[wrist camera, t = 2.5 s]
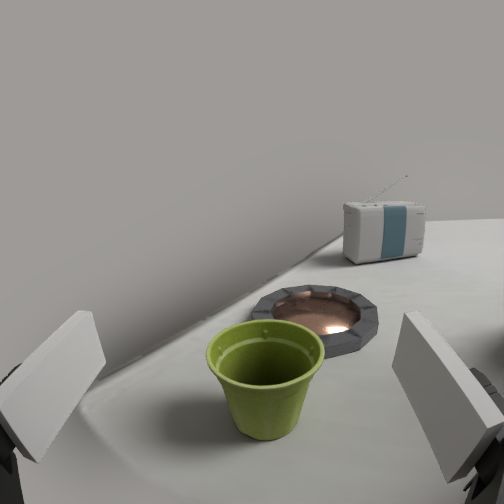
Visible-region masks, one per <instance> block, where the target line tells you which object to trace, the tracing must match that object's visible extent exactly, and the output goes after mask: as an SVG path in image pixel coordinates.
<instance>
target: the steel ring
mask: <svg viewBox="0 0 504 504" xmlns="http://www.w3.org/2000/svg"><path fill="white" fill-rule="evenodd" d="M264 319H273V320H283V321H289V322H293V323H296V324H299V325H302V326H304V327H306V328H308V329H310V330H311V331H313V332H314V333H315V334H316V335H317V336H318V337H319V338H320V340H321V341H322V343H323V345H324V350H325V354H324V358H325V359H327V358H330V357H335V356H339V355H343V354H347V353H350V352H354V351H358V350H360V349H361V348H362V347H364V346H365V345H366V344H367V343H368V342H369V341H370V340H371V339H372V338H373V337H374V336H375V335H376V334H377V330H378V324H379V322H378V314H377V307H376V306H375V305H374V304H372V303H371V302H370V301H369V300H367V299H366V298H365V297H364V296H362V295H361V294H358V293H355V292H352V291H349V290H345V289H342V288H339V287H333V286H319V285H304V286H297V287H289V288H282V289H280V290H278V291H275V292H273V293H271V294H269V295H266V296H264V297H262V298H261V299H260V300H259V302H258V303H257V305H256V307H255V308H254V310H253V311H252V321H253V320H264Z"/></svg>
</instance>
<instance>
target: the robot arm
mask: <svg viewBox="0 0 504 504" xmlns="http://www.w3.org/2000/svg"><path fill="white" fill-rule="evenodd" d="M105 363H106V360H105V357H104V354H103V351H102V348H101V344H100V341H99V337H98V334H97V330H96V327H95V323H94V319H93V315H92V312H91V311H80V310H78V311H77V312H76V313H75V314H74V315H72V316H71V317H70V318H69V319H68V320H67V321H66V322H65V323H64V324H63V325H62V326H60V327H59V328H58V329H57V330H56V331H55V332H54V333H53V334H52V335H51V336H50V337H49V338H48V339H47V340H46V341H45V342H43V343H42V344H41V345H40V346H39V347H38V348H37V349H36V350H35V351H34V352H33V353H32V354H31V355H30V356H29V357H28V358H27V359H26V360H25V361H24V362H23V363H21V364H19V365H18V366H16V367H15V368H14V369H13V370H12V371H11V372H10V373H9V374H8V376H6V377H5V378H4V379H3V380H2V382H0V504H24V500H23V495H22V490H21V485H20V479H19V473H18V466H17V458H16V455H15V453H14V452H13V450H14V448H15V447H17V449H18V450H19V451H20V453H21V454H22V455H23V456H24V457H25V458H27V459H29V460H32V461H33V462H35V463H37V464H38V463H39V462H40V460H41V459H42V457H43V455H44V453H45V452H46V451H47V449H48V447H49V446H50V444H51V443H52V441H53V439H54V438H55V437H56V435H57V433H58V432H59V430H60V429H61V427H62V426H63V424H64V423H65V421H66V419H67V418H68V417H69V415H70V414H71V412H72V411H73V409H74V408H75V406H76V405H77V403H78V402H79V401H80V399H81V398H82V396H83V395H84V393H85V392H86V390H87V389H88V388H89V386H90V385H91V383H92V382H93V380H94V379H95V378H96V376H97V375H98V373H99V372H100V370H101V369H102V368H103V366H104V365H105ZM392 368H393V370H394V372H395V373H396V375H397V377H398V379H399V381H400V383H401V385H402V387H403V389H404V391H405V393H406V395H407V397H408V399H409V401H410V403H411V405H412V407H413V409H414V411H415V413H416V415H417V417H418V419H419V422H420V424H421V426H422V428H423V430H424V432H425V434H426V436H427V439H428V441H429V443H430V445H431V447H432V450H433V452H434V454H435V456H436V459H437V461H438V463H439V466H440V468H441V470H442V473H443V475H444V477H445V480H446V482H447V484H448V483H451V482H453V481H456V480H458V479H461V478H463V477H466V476H467V475H468V473H469V472H470V471H471V470H472V468H473V467H474V466H475V468H476V470H477V474H476V475H475V476H474V477H473V478H472V479H471V481H470V482H469V483H468V484H467V485H466V486H465V488H464V490H463V491H466V490H467V489H468V488H469V487H470V486H471V487H470V490H469V493H468V496H467V499H466V501H465V504H504V399H503V398H502V396H501V395H500V394H499V393H497V390H496V389H495V387H494V386H492V384H491V382H490V381H489V380H488V379H487V377H486V376H485V375H484V374H483V373H481V372H480V371H478V370H477V369H475V368H471V369H468V368H467V366H466V365H465V364H464V363H463V361H462V360H461V359H460V358H459V356H458V355H457V354H456V353H455V352H454V350H453V349H452V348H451V347H450V345H449V344H448V343H447V342H446V341H445V340H444V338H443V337H442V336H441V335H440V334H439V332H438V331H437V330H436V329H435V328H434V327H433V326H432V324H431V323H430V322H429V321H428V320H427V319H426V318H425V316H424V315H423V314H422V313H421V312H420V311H416V312H405V313H404V316H403V321H402V326H401V330H400V335H399V339H398V343H397V348H396V352H395V356H394V359H393V363H392Z"/></svg>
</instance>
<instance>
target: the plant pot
mask: <svg viewBox="0 0 504 504" xmlns="http://www.w3.org/2000/svg"><path fill="white" fill-rule="evenodd" d="M324 354H325V350H324V345H323V343H322V341H321V340H320V338H319V337H318V336H317V335H316V334H315V333H314V332H313V331H311V330H310V329H308V328H306V327H304V326H302V325H299V324H296V323H293V322H289V321H283V320H273V319H264V320H253V321H247V322H242V323H239V324H236V325H233V326H231V327H228V328H226V329H224V330H223V331H221V332H220V333H218V334H217V335H216V336H215V337H214V338H213V339H212V340H211V342H210V343H209V345H208V347H207V349H206V360H207V363H208V366H209V368H210V370H211V371H212V372H213V373H214V375H215V376H216V377H217V379H218V380H219V382H220V383H221V384H222V387H223V390H224V393H225V396H226V399H227V401H228V404H229V407H230V410H231V413H232V416H233V419H234V422H235V424H236V426H237V428H238V429H239V430H240V431H241V432H242V433H244V434H247V435H249V436H251V437H253V438H255V439H258V440H273V439H278V438H280V437H283V436H285V435H287V434H288V433H289V432H290V431H291V430H292V429H293V428H294V426H295V425H296V423H297V421H298V418H299V415H300V412H301V408H302V405H303V402H304V399H305V396H306V392H307V389H308V386H309V382H310V381H311V379H312V378H313V376H314V374H315V373H316V372H317V370H318V369H319V368H320V366H321V365H322V362H323V359H324Z"/></svg>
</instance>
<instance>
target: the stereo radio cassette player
mask: <svg viewBox="0 0 504 504" xmlns="http://www.w3.org/2000/svg"><path fill="white" fill-rule="evenodd" d="M405 177H407V175H406V176H405ZM402 179H403V178H402ZM402 179H400V180H402ZM400 180H398V181H397V182H395V183H393V184H392V185H390V186H389V187H387V188H385V189H384V190H382V191H380V192H379V193H377V194H376V195H374V196H373V197H371V198H370V199H368V200H366V201H365V202H353V203H344V205H343V209H344V235H343V254H344V255H345V256H346V257H347V258H348V259H350V260H351V261H352V262H354V263H355V264H360V263H367V262H374V261H381V260H388V259H395V258H402V257H409V256H416V255H418V254H419V253H421V252H422V248H423V242H424V233H425V220H426V208H425V206H423V205H420V204H416V203H413V202H407V201H388V202H387V201H386V202H368V201H370V200H371V199H373V198H375V197H376V196H378V195H379V194H381V193H382V192H384V191H386V190H387V189H389V188H390V187H392V186H393V185H395V184H396V183H398V182H399V181H400Z"/></svg>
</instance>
